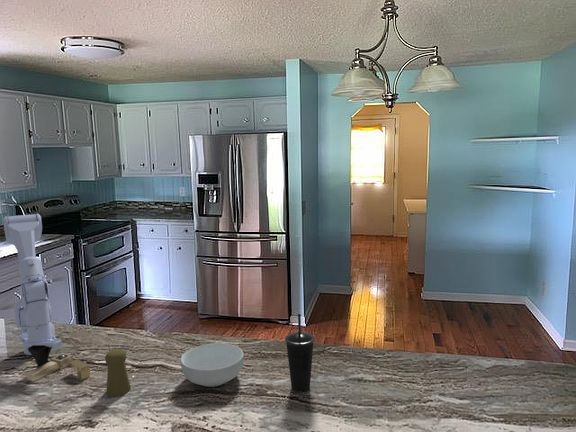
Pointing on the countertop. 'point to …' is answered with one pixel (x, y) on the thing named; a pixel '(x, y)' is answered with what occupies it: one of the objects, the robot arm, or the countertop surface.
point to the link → (49, 367)
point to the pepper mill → (117, 373)
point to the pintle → (61, 356)
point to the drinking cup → (300, 358)
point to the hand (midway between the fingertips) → (43, 368)
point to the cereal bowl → (212, 364)
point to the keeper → (81, 369)
